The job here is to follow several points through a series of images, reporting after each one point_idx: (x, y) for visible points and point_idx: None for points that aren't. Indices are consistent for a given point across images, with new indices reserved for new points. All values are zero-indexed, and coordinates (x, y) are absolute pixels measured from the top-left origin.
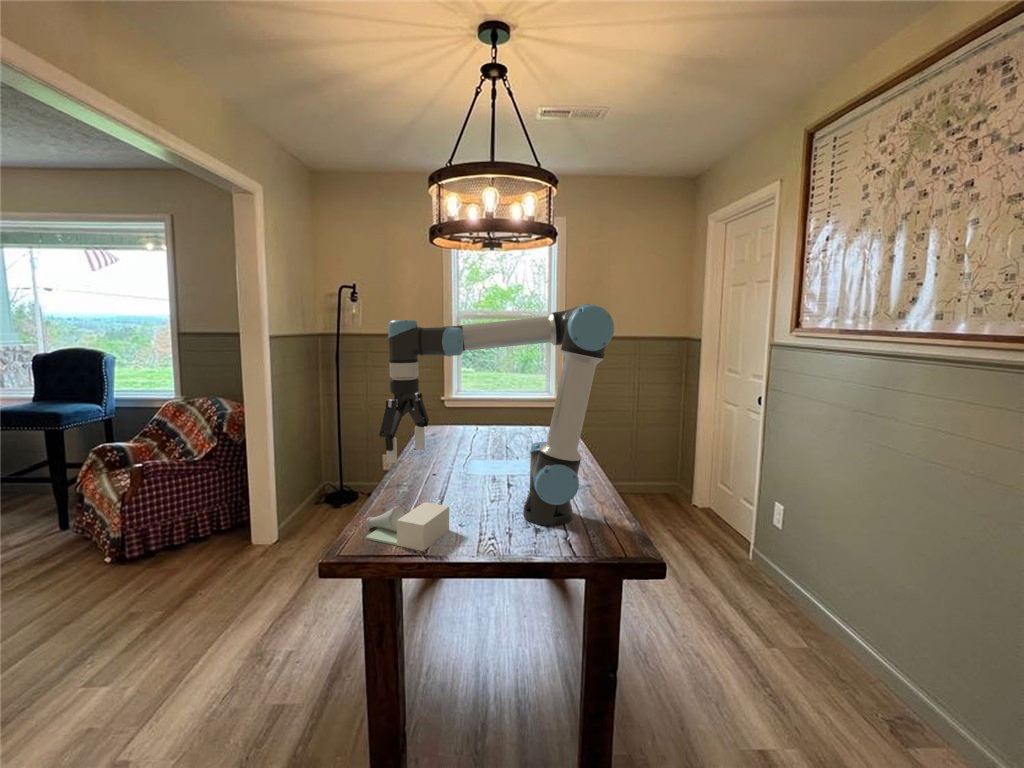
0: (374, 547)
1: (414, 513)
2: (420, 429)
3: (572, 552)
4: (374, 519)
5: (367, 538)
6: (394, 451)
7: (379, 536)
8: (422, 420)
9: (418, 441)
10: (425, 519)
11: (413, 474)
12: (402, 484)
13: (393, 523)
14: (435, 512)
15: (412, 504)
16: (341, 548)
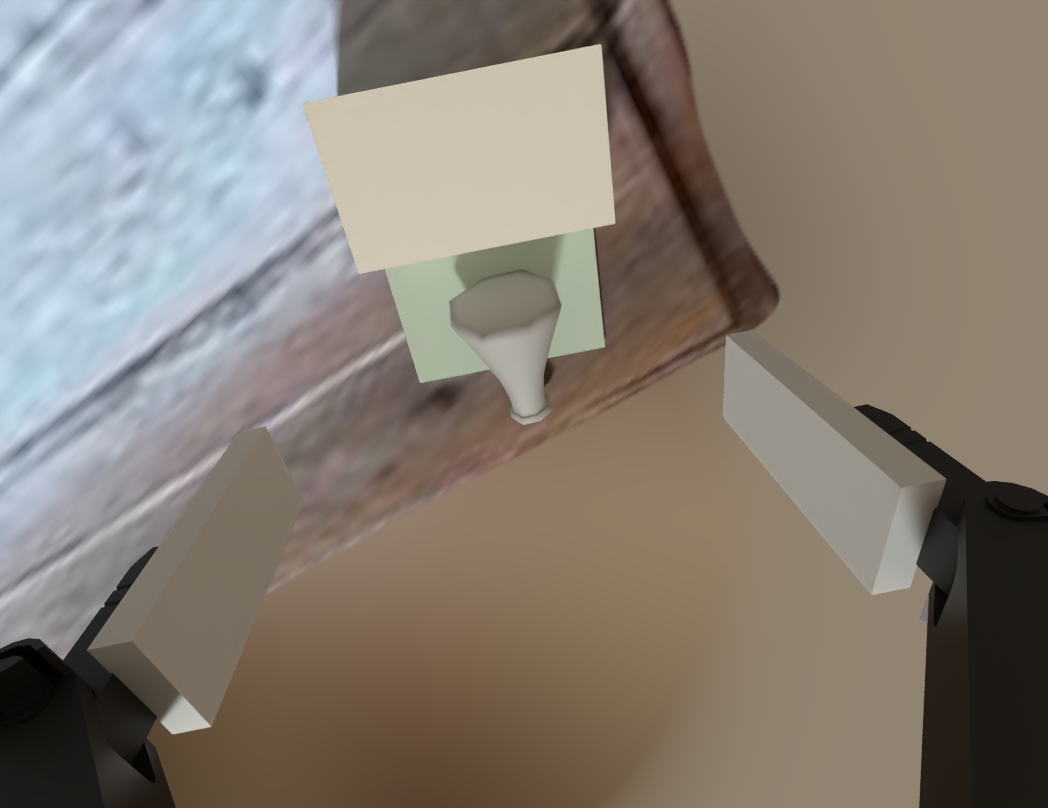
0: (640, 267)
1: (505, 208)
2: (173, 635)
3: None
4: (538, 390)
5: (603, 337)
6: (817, 390)
7: (578, 308)
8: (35, 788)
9: (259, 526)
10: (533, 93)
11: (67, 628)
12: None
13: (545, 289)
14: (425, 113)
15: (271, 431)
16: (693, 352)
